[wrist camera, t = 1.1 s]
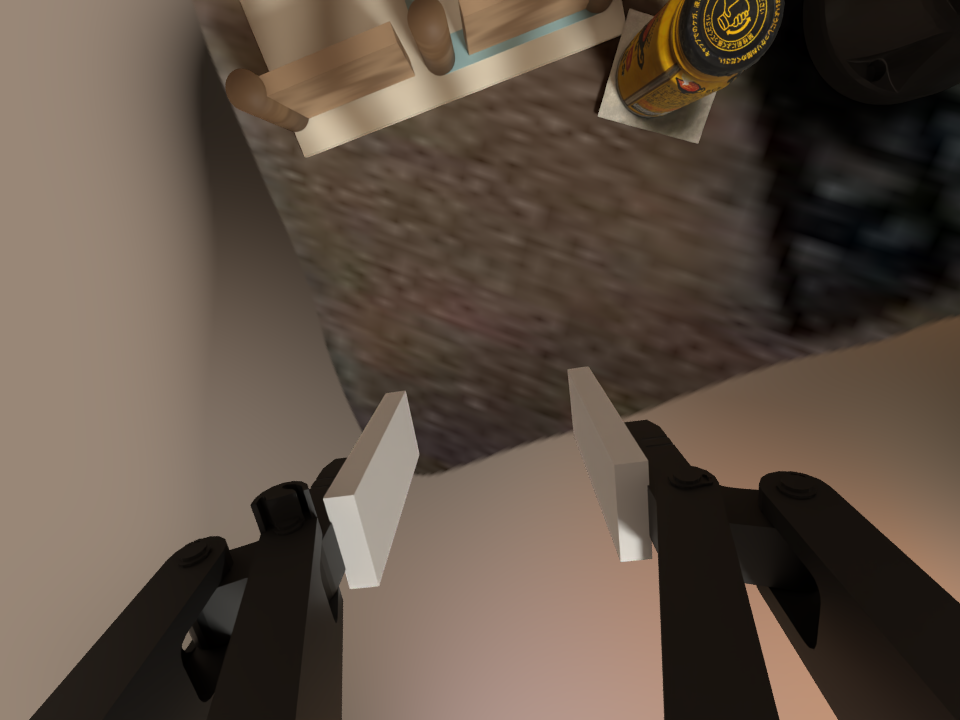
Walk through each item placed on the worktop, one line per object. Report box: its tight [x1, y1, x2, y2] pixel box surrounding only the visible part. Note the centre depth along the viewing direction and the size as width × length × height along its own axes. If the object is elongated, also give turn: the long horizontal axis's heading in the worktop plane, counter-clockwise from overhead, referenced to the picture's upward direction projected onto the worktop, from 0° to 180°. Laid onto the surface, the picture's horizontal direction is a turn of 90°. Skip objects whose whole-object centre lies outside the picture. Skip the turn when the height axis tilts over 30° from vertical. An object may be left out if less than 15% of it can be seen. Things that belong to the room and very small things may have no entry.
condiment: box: [598, 0, 785, 144], centre depth 29 cm, size 7×8×12 cm
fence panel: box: [226, 21, 415, 132], centre depth 31 cm, size 11×2×8 cm, turn 109°
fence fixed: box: [407, 0, 613, 76], centre depth 30 cm, size 15×2×8 cm, turn 109°
